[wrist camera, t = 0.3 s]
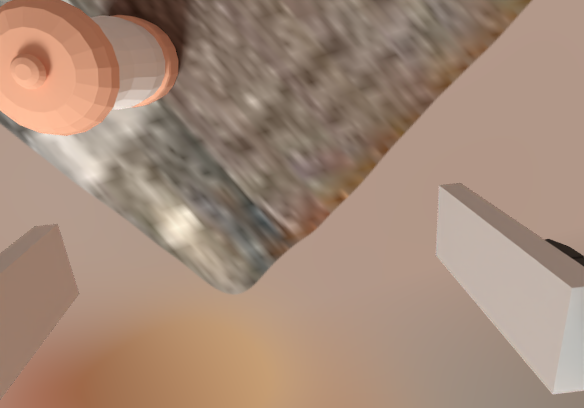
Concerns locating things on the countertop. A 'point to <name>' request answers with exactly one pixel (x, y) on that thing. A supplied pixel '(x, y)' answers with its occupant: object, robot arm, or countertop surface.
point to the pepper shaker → (78, 65)
